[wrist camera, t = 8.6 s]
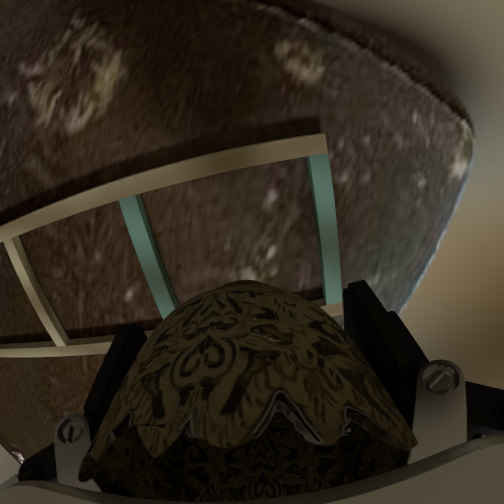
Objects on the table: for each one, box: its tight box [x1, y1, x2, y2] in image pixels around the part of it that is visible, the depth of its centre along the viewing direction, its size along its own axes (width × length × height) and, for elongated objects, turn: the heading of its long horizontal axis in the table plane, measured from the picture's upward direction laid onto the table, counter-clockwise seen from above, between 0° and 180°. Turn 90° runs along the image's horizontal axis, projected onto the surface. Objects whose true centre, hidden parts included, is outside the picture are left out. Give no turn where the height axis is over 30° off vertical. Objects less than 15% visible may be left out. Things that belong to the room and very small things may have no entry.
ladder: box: [0, 133, 343, 357], centre depth 17 cm, size 11×31×1 cm, turn 101°
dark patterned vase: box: [78, 280, 418, 502], centre depth 8 cm, size 8×7×8 cm
